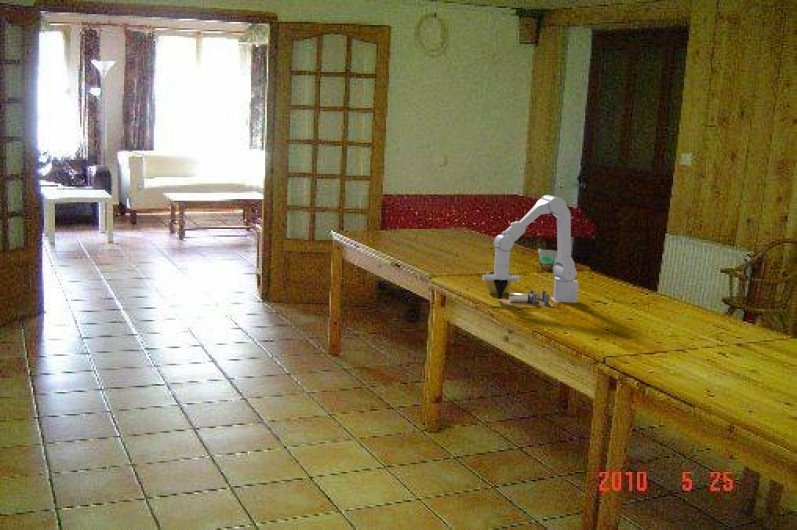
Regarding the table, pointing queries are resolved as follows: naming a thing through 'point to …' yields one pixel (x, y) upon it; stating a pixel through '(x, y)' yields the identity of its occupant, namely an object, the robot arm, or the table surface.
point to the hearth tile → (506, 301)
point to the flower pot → (492, 286)
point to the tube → (522, 298)
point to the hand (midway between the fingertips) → (499, 298)
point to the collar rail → (543, 298)
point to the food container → (547, 258)
